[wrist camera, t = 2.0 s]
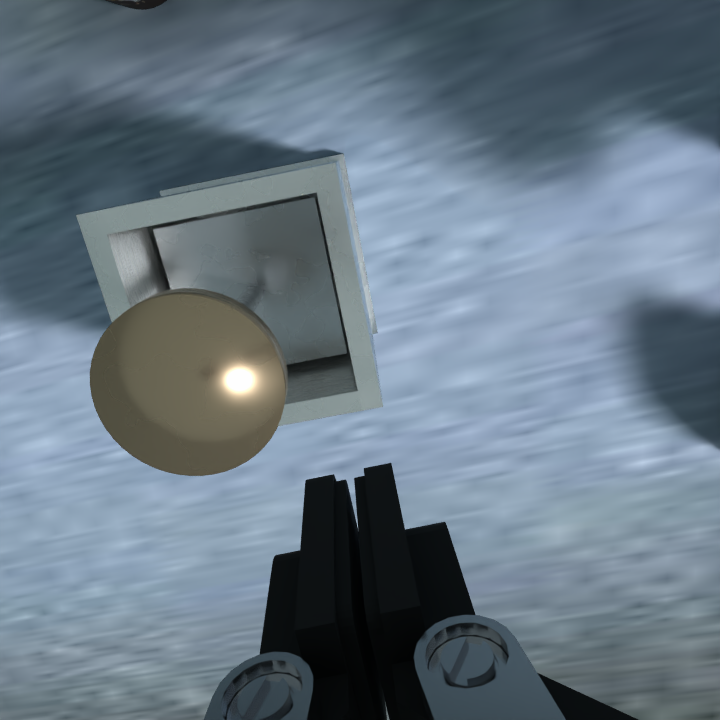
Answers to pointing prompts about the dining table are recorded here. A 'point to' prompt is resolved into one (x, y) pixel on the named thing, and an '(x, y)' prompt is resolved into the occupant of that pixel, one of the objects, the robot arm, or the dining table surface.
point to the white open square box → (239, 193)
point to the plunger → (218, 339)
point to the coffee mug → (139, 3)
